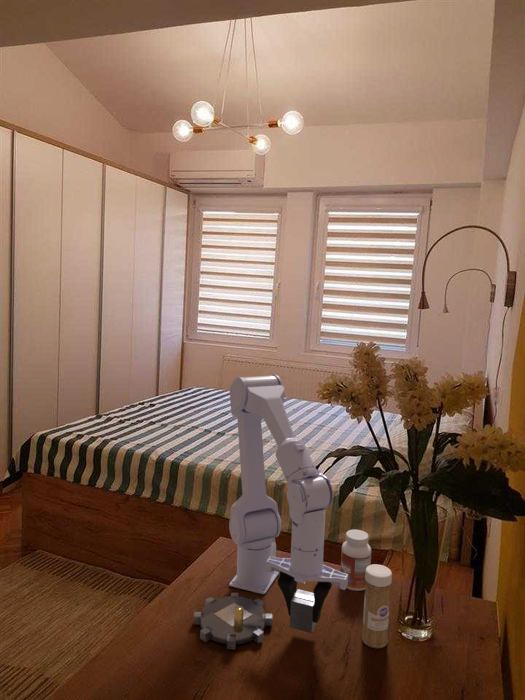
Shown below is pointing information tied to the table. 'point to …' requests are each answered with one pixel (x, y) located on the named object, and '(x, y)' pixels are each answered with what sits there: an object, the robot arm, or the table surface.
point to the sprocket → (232, 620)
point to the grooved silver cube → (302, 611)
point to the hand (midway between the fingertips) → (304, 616)
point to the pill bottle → (355, 559)
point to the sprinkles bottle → (376, 605)
